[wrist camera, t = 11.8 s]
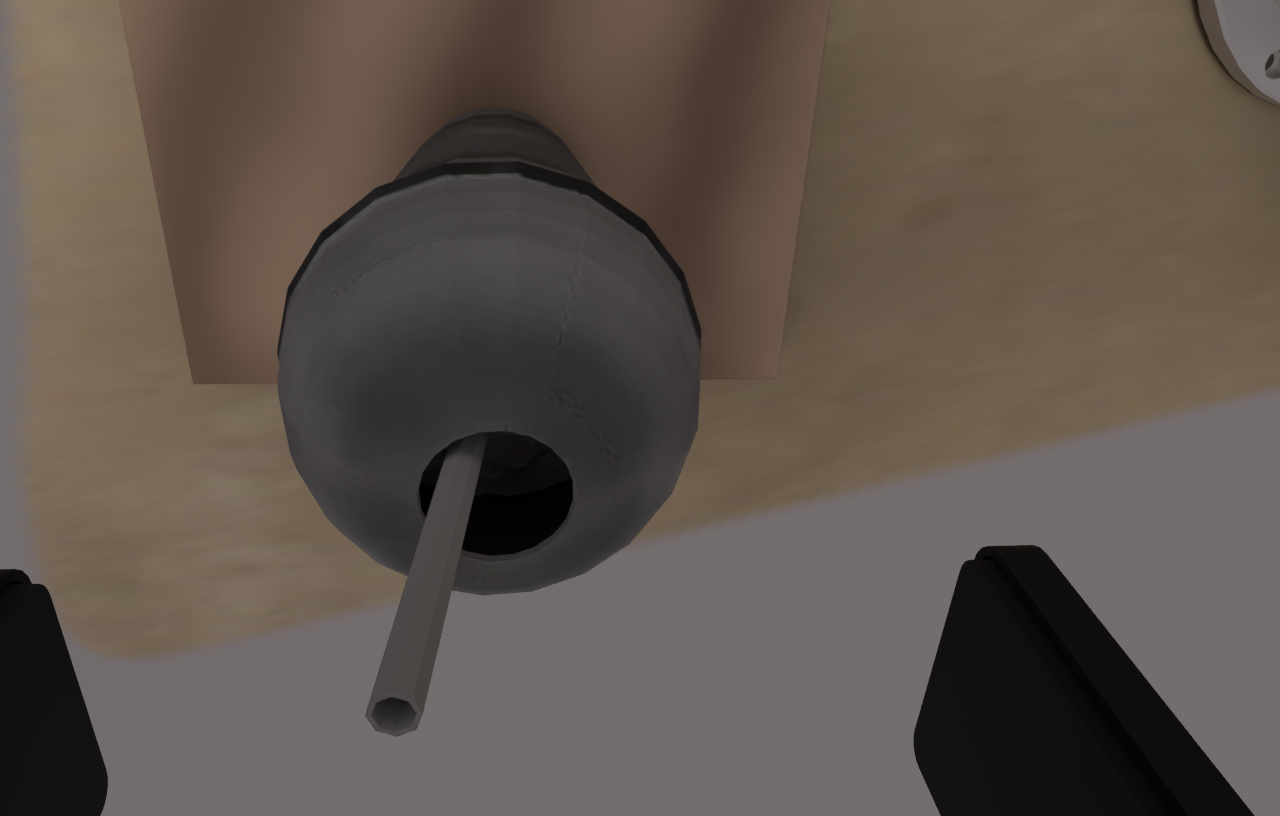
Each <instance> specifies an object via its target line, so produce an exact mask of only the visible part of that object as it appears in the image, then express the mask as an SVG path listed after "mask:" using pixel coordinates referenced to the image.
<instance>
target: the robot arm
mask: <svg viewBox="0 0 1280 816" xmlns="http://www.w3.org/2000/svg"><path fill="white" fill-rule="evenodd" d="M1197 1H1198V7H1199V13H1200V18H1201V20H1202V23H1203V26H1204V28H1205V31H1206V33H1207V36H1208V38H1209V41H1210V44H1211V46H1212V49H1213V51H1214V52H1215V54H1216V55H1217V56H1218V58H1219V59H1220V61H1221V62H1222V63H1223V65H1224V66H1225V68H1226V69H1227V70H1228V72H1229V73H1230V75H1231V76H1232V77H1233V78H1234V79H1235V80H1237V81H1238V82H1239V83H1240V84H1241V85H1243V86H1244V87H1245V88H1246V89H1248V90H1249V91H1250V92H1251V93H1253V94H1254V95H1255V96H1256V97H1259V98H1261V99H1263V100H1265V101H1268V102H1270V103H1272V104H1275V105H1277V106H1279V107H1280V0H1197ZM914 751H915V756H916V761H917V763H918V766H919V769H920V771H921V773H922V775H923V777H924V780H925V782H926V784H927V786H928V789H929V790H930V793H931V795H932V797H933V800H934V802H935V804H936V806H937V808H938V810H939V813H940V815H941V816H1254V815H1253V813H1252V812H1251V811H1250V809H1249V808H1248V807H1247V806H1246V804H1245V803H1244V802H1243V801H1242V799H1241V798H1240V797H1239V796H1238V794H1237V793H1236V792H1235V791H1234V789H1233V788H1232V787H1231V786H1230V784H1229V783H1228V782H1227V781H1226V779H1225V778H1224V777H1223V775H1222V774H1221V773H1220V772H1219V770H1218V769H1217V768H1216V767H1215V765H1214V764H1213V763H1212V762H1211V760H1210V759H1209V758H1208V757H1207V755H1206V754H1205V753H1204V751H1203V750H1202V749H1201V748H1200V747H1199V745H1198V744H1197V743H1196V742H1195V740H1194V739H1193V738H1192V736H1191V735H1190V734H1189V733H1188V731H1187V730H1186V729H1185V728H1184V726H1183V725H1182V724H1181V723H1180V721H1179V720H1178V719H1177V717H1176V716H1175V715H1174V714H1173V712H1172V711H1171V710H1170V709H1169V707H1168V706H1167V705H1166V704H1165V702H1164V701H1163V700H1162V699H1161V697H1160V696H1159V695H1158V694H1157V692H1156V691H1155V690H1154V688H1153V687H1152V686H1151V685H1150V683H1149V682H1148V681H1147V680H1146V678H1145V677H1144V676H1143V675H1142V673H1141V672H1140V671H1139V670H1138V668H1137V667H1136V666H1135V664H1134V663H1133V662H1132V661H1131V660H1130V658H1129V657H1128V656H1127V654H1126V653H1125V652H1124V651H1123V649H1122V648H1121V647H1120V646H1119V644H1118V643H1117V642H1116V641H1115V639H1114V638H1113V637H1112V636H1111V635H1110V633H1109V632H1108V630H1107V629H1106V628H1105V627H1104V626H1103V624H1102V623H1101V622H1100V620H1099V619H1098V618H1097V617H1096V615H1095V614H1094V613H1093V612H1092V610H1091V609H1090V608H1089V607H1088V605H1087V604H1086V603H1085V601H1084V600H1083V599H1082V598H1081V596H1080V595H1079V594H1078V593H1077V592H1076V590H1075V589H1074V588H1073V586H1072V585H1071V584H1070V583H1069V581H1068V580H1067V579H1066V577H1065V576H1064V575H1063V574H1062V572H1061V571H1060V570H1059V569H1058V568H1057V566H1056V565H1055V564H1054V563H1053V561H1052V560H1051V559H1050V558H1049V556H1048V555H1047V554H1046V553H1045V552H1044V551H1043V550H1042V549H1041V548H1040V547H1037V546H1034V545H1019V546H987V547H983V548H981V549H980V550H979V551H978V553H977V554H976V557H975V559H974V560H969V561H966V562H965V563H964V564H963V565H962V567H961V570H960V573H959V576H958V580H957V583H956V587H955V590H954V594H953V597H952V601H951V605H950V608H949V612H948V615H947V618H946V622H945V625H944V629H943V632H942V636H941V639H940V643H939V647H938V650H937V654H936V657H935V661H934V664H933V668H932V672H931V675H930V678H929V682H928V685H927V689H926V692H925V696H924V699H923V704H922V706H921V710H920V713H919V717H918V720H917V724H916V728H915V732H914ZM107 787H108V776H107V771H106V768H105V765H104V761H103V758H102V755H101V752H100V749H99V746H98V742H97V740H96V737H95V733H94V730H93V727H92V724H91V721H90V717H89V715H88V711H87V708H86V705H85V702H84V699H83V696H82V693H81V690H80V686H79V683H78V681H77V677H76V674H75V671H74V668H73V665H72V661H71V658H70V655H69V652H68V649H67V646H66V643H65V640H64V637H63V633H62V630H61V627H60V624H59V621H58V618H57V615H56V612H55V609H54V605H53V602H52V599H51V596H50V594H49V592H48V590H47V588H46V587H45V586H44V585H41V584H32V583H31V581H30V579H29V577H28V576H27V575H26V574H25V573H24V572H23V571H21V570H16V569H3V570H0V816H100V815H101V813H102V810H103V807H104V804H105V800H106V796H107Z"/></svg>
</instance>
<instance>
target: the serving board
mask: <svg viewBox="0 0 1280 816" xmlns="http://www.w3.org/2000/svg"><path fill="white" fill-rule="evenodd" d="M830 1H831V0H119V4H120V9H121V15H122V20H123V25H124V30H125V35H126V40H127V46H128V51H129V56H130V61H131V66H132V71H133V76H134V82H135V87H136V92H137V97H138V102H139V107H140V112H141V118H142V123H143V128H144V133H145V138H146V143H147V149H148V154H149V159H150V164H151V169H152V174H153V179H154V185H155V190H156V195H157V200H158V205H159V210H160V216H161V221H162V226H163V231H164V236H165V241H166V246H167V252H168V257H169V262H170V267H171V272H172V277H173V282H174V288H175V293H176V298H177V303H178V308H179V313H180V319H181V324H182V329H183V334H184V339H185V344H186V349H187V355H188V360H189V365H190V370H191V375H192V380H193V384H262V383H278V373H279V362H278V355H277V347H278V341H279V335H280V329H281V323H282V317H283V311H284V305H285V299H286V294H287V288H288V286H289V285H290V283H291V281H292V280H293V278H294V276H295V275H296V273H297V271H298V270H299V268H300V266H301V264H302V263H303V261H304V259H305V258H306V256H307V254H308V253H309V251H310V249H311V248H312V246H313V244H314V243H315V241H316V239H317V238H318V236H319V234H320V233H321V231H322V230H324V229H325V228H326V227H327V226H329V225H330V224H331V223H332V222H333V221H335V220H336V219H337V218H338V217H340V216H341V215H342V214H343V213H345V212H346V211H347V210H348V209H350V208H351V207H352V206H353V205H355V204H356V203H357V202H358V201H360V200H361V199H362V198H363V197H365V196H366V195H367V194H368V193H370V192H371V191H372V190H373V189H375V188H376V187H379V186H381V185H384V184H387V183H390V182H393V180H394V179H395V178H396V177H397V175H398V174H399V173H400V172H401V170H402V169H403V168H404V167H405V165H406V164H407V163H408V162H409V160H410V159H411V158H412V156H413V155H414V154H415V153H416V151H417V150H418V149H419V148H420V146H421V145H422V144H423V143H424V141H425V140H427V139H428V138H429V137H430V136H432V135H433V134H434V133H435V132H437V131H438V130H439V129H440V128H442V127H443V126H444V125H445V124H447V123H448V122H449V121H450V120H452V119H453V118H454V117H456V116H459V115H462V114H464V113H467V112H470V111H473V110H476V109H478V108H508V109H511V110H514V111H518V112H521V113H524V114H527V115H531V116H532V117H534V118H535V119H536V120H538V121H539V122H541V123H542V124H544V125H545V126H546V127H548V128H549V129H551V130H552V131H553V132H554V133H555V134H556V135H557V136H558V137H560V138H561V139H562V140H563V142H564V143H565V144H566V146H567V147H568V148H569V150H570V151H571V152H572V154H573V155H574V156H575V157H576V159H577V160H578V161H579V163H580V164H581V166H582V167H583V168H584V170H585V171H586V173H587V174H588V175H589V177H590V178H591V180H592V181H593V182H594V184H595V185H596V187H597V188H599V189H600V190H602V191H603V192H604V193H606V194H607V195H609V196H610V197H612V198H613V199H615V200H616V201H618V202H619V203H620V204H622V205H623V206H625V207H626V208H628V209H629V210H631V211H632V212H634V213H635V214H636V215H638V216H639V217H641V218H642V219H644V220H645V221H646V222H647V223H648V225H649V226H650V227H651V229H652V230H653V232H654V233H655V234H656V236H657V237H658V238H659V240H660V241H661V242H662V244H663V245H664V246H665V248H666V249H667V250H668V252H669V253H670V254H671V256H672V257H673V258H674V260H675V261H676V262H677V264H678V265H679V266H680V268H681V269H682V270H683V272H684V274H685V278H686V281H687V284H688V287H689V290H690V294H691V297H692V300H693V303H694V307H695V310H696V313H697V316H698V320H699V323H700V326H701V329H702V333H701V367H700V379H777V374H778V367H779V360H780V353H781V346H782V338H783V331H784V324H785V317H786V310H787V303H788V296H789V289H790V282H791V275H792V268H793V261H794V254H795V247H796V240H797V233H798V226H799V219H800V212H801V205H802V198H803V191H804V184H805V177H806V170H807V163H808V156H809V149H810V142H811V135H812V128H813V121H814V114H815V107H816V100H817V93H818V86H819V79H820V72H821V65H822V58H823V51H824V44H825V37H826V30H827V23H828V15H829V8H830Z"/></svg>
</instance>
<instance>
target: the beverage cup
mask: <svg viewBox="0 0 1280 816" xmlns="http://www.w3.org/2000/svg"><path fill="white" fill-rule="evenodd" d="M701 333H702V329H701V326H700V323H699V320H698V316H697V313H696V310H695V307H694V303H693V300H692V297H691V294H690V290H689V287H688V284H687V281H686V278H685V274H684V272H683V270H682V269H681V268H680V266H679V265H678V264H677V262H676V261H675V260H674V258H673V257H672V256H671V254H670V253H669V252H668V250H667V249H666V248H665V246H664V245H663V244H662V242H661V241H660V240H659V238H658V237H657V236H656V234H655V233H654V232H653V230H652V229H651V227H650V226H649V225H648V223H647V222H646V221H645V220H644V219H642V218H641V217H639V216H638V215H636V214H635V213H634V212H632V211H631V210H629V209H628V208H626V207H625V206H623V205H622V204H620V203H619V202H618V201H616V200H615V199H613V198H612V197H610V196H609V195H607V194H606V193H604V192H603V191H602V190H600V189H599V188H597V187H596V185H595V184H594V182H593V181H592V180H591V178H590V177H589V175H588V174H587V173H586V171H585V170H584V168H583V167H582V166H581V164H580V163H579V161H578V160H577V159H576V157H575V156H574V155H573V154H572V152H571V151H570V150H569V148H568V147H567V146H566V144H565V143H564V142H563V140H562V139H561V138H560V137H558V136H557V135H556V134H555V133H554V132H553V131H552V130H551V129H549V128H548V127H546V126H545V125H544V124H542V123H541V122H539V121H538V120H536V119H535V118H534V117H532V116H531V115H527V114H524V113H521V112H518V111H514V110H511V109H508V108H478V109H476V110H473V111H470V112H467V113H464V114H462V115H459V116H456V117H454V118H453V119H452V120H450V121H449V122H448V123H447V124H445V125H444V126H443V127H442V128H440V129H439V130H438V131H437V132H435V133H434V134H433V135H432V136H430V137H429V138H428V139H427V140H425V141H424V143H423V144H422V145H421V146H420V148H419V149H418V150H417V151H416V153H415V154H414V155H413V156H412V158H411V159H410V160H409V162H408V163H407V164H406V165H405V167H404V168H403V169H402V170H401V172H400V173H399V174H398V175H397V177H396V178H395V179H394V180H393V182H390V183H387V184H384V185H381V186H379V187H376V188H375V189H373V190H372V191H371V192H370V193H368V194H367V195H366V196H365V197H363V198H362V199H361V200H360V201H358V202H357V203H356V204H355V205H353V206H352V207H351V208H350V209H348V210H347V211H346V212H345V213H343V214H342V215H341V216H340V217H338V218H337V219H336V220H335V221H333V222H332V223H331V224H330V225H329V226H327V227H326V228H325V229H324V230H322V231H321V233H320V234H319V236H318V238H317V239H316V241H315V243H314V244H313V246H312V248H311V249H310V251H309V253H308V254H307V256H306V258H305V259H304V261H303V263H302V264H301V266H300V268H299V270H298V271H297V273H296V275H295V276H294V278H293V280H292V281H291V283H290V285H289V286H288V288H287V294H286V299H285V305H284V311H283V317H282V323H281V329H280V335H279V341H278V347H277V355H278V362H279V373H278V394H279V400H280V405H281V410H282V415H283V420H284V425H285V429H286V434H287V439H288V444H289V449H290V454H291V456H292V459H293V461H294V463H295V466H296V468H297V470H298V472H299V474H300V475H301V477H302V478H303V480H304V482H305V483H306V485H307V486H308V488H309V490H310V491H311V493H312V495H313V496H314V498H315V499H316V501H317V503H318V504H319V506H320V508H321V509H322V511H323V512H324V514H325V516H326V517H327V518H328V520H329V521H330V522H331V523H332V524H333V525H334V526H335V527H336V528H337V529H338V530H339V531H340V532H342V533H343V534H344V535H345V536H346V537H348V538H349V539H350V540H351V541H352V542H353V543H355V544H356V545H357V546H358V547H359V548H361V549H362V550H363V551H364V552H365V553H366V554H368V555H369V556H370V557H371V558H372V559H374V560H375V561H376V562H377V563H379V564H381V565H383V566H385V567H388V568H390V569H392V570H394V571H397V572H399V573H401V574H403V575H405V576H408V578H407V581H406V585H405V588H404V591H403V594H402V597H401V601H400V604H399V607H398V610H397V614H396V617H395V620H394V623H393V627H392V630H391V633H390V636H389V640H388V643H387V646H386V649H385V652H384V656H383V659H382V662H381V665H380V669H379V672H378V675H377V679H376V682H375V685H374V688H373V691H372V695H371V698H370V701H369V704H368V708H367V711H366V714H365V716H366V718H367V719H368V721H369V722H370V723H371V725H372V726H373V727H374V729H375V730H376V731H378V732H382V733H386V734H389V735H393V736H400V735H402V734H405V733H407V732H410V731H413V730H416V729H417V726H418V724H419V722H420V719H421V717H422V714H423V710H424V706H425V702H426V697H427V693H428V689H429V685H430V681H431V676H432V672H433V668H434V663H435V659H436V655H437V650H438V646H439V642H440V638H441V634H442V629H443V625H444V621H445V617H446V612H447V608H448V604H449V600H450V595H451V591H452V590H453V591H459V592H466V593H471V594H477V595H493V594H505V593H519V592H531V591H534V590H538V589H540V588H543V587H546V586H549V585H552V584H555V583H558V582H561V581H564V580H567V579H570V578H573V577H576V576H579V575H581V574H584V573H586V572H588V571H589V570H591V569H592V568H594V567H595V566H597V565H598V564H600V563H601V562H603V561H604V560H606V559H607V558H609V557H610V556H612V555H613V554H615V553H616V552H618V551H619V550H621V549H622V548H624V547H626V546H627V545H629V544H630V542H631V541H632V540H633V539H634V538H635V537H636V535H637V534H638V533H639V532H640V531H641V529H642V528H643V527H644V526H645V525H646V524H647V522H648V521H649V520H650V519H651V518H652V516H653V515H654V514H655V513H656V512H657V510H658V509H659V508H660V507H661V506H662V505H663V503H664V502H665V501H666V500H667V499H668V497H669V496H670V495H671V494H672V492H673V489H674V487H675V484H676V482H677V479H678V477H679V474H680V472H681V469H682V467H683V464H684V462H685V459H686V457H687V455H688V452H689V450H690V447H691V445H692V442H693V439H694V437H695V434H696V432H697V429H698V412H699V389H700V367H701Z"/></svg>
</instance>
